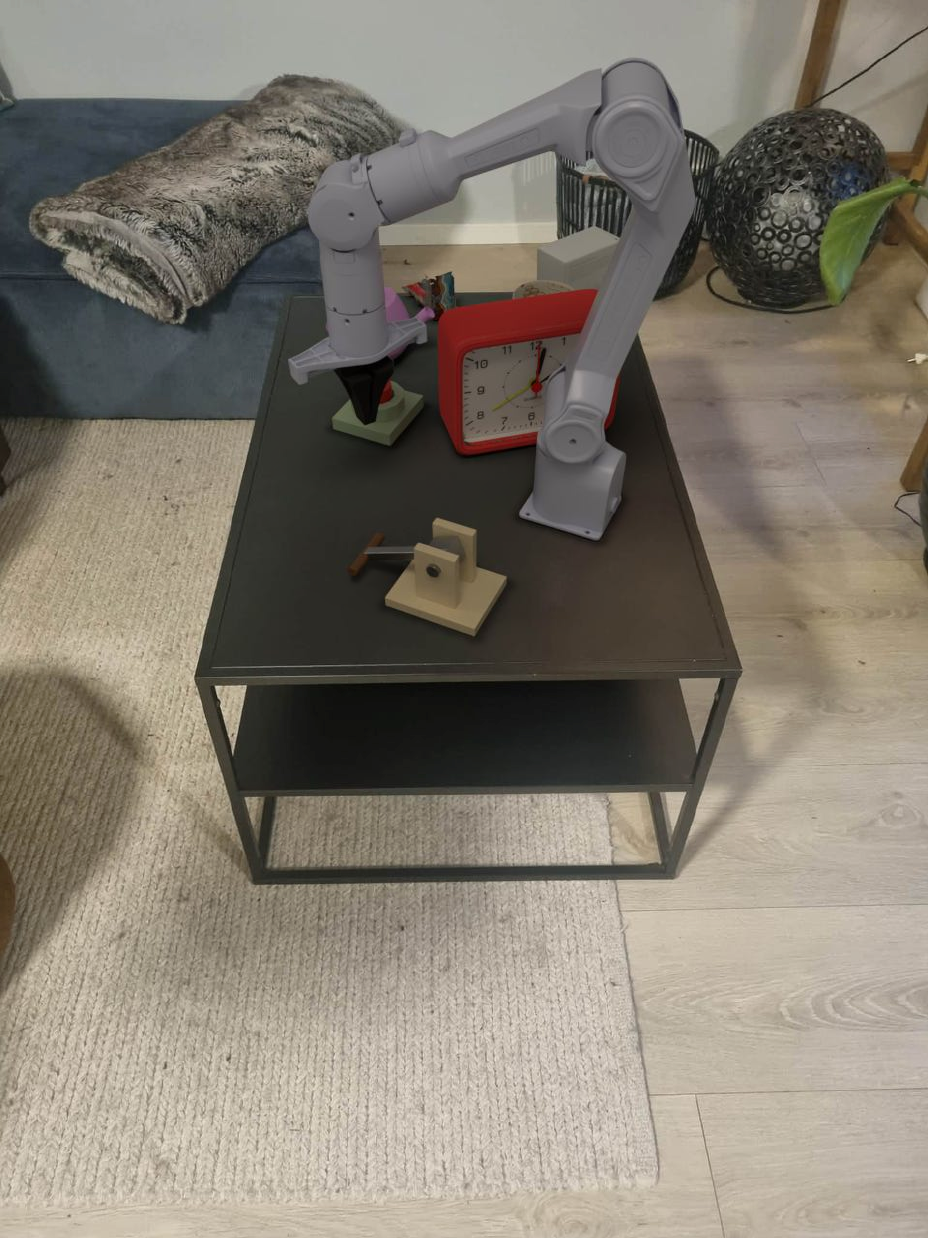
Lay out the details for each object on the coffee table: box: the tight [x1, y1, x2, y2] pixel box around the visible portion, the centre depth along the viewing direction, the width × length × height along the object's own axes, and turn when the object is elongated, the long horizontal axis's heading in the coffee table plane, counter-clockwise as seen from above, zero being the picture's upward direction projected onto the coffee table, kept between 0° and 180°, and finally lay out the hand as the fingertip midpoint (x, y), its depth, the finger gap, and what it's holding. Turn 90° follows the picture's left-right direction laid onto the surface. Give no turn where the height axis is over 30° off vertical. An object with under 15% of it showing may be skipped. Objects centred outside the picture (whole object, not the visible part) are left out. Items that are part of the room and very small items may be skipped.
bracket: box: [384, 517, 508, 637], centre depth 93 cm, size 10×8×8 cm
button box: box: [331, 380, 425, 447], centre depth 115 cm, size 8×9×4 cm
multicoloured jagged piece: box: [401, 270, 458, 321], centre depth 133 cm, size 12×7×6 cm
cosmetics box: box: [536, 225, 620, 290], centre depth 129 cm, size 10×6×10 cm, turn 126°
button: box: [379, 379, 392, 404], centre depth 113 cm, size 4×4×2 cm
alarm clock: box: [437, 289, 622, 456], centre depth 109 cm, size 10×20×16 cm, turn 105°
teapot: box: [325, 285, 435, 363], centre depth 123 cm, size 10×15×9 cm
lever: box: [347, 531, 466, 577], centre depth 94 cm, size 12×6×2 cm, turn 65°
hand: (366, 418), depth 99 cm, fingers closed
